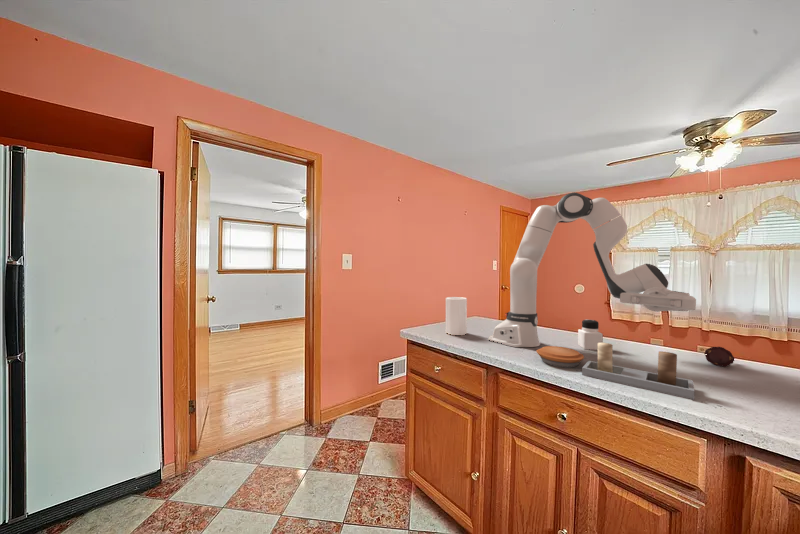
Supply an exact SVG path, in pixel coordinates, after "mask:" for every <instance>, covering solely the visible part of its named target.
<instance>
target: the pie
mask: <svg viewBox="0 0 800 534" xmlns="http://www.w3.org/2000/svg"><path fill="white" fill-rule="evenodd" d="M535 352H536V354H537V355H539V357H540V358H541V361H542V362H543V363H545V364H547V365H550V366H554V367H558V368H568V369H569V368H576V367H578V365H580V363H581V362H582V361H583V360H584V359H585V356H584V355H583V354H582V353H581V352H579V351H578V350H576V349H572V348H570V347H569V348H568V347H564V346H557V345H547V346H542V347H541V348H538V349H536V351H535Z"/></svg>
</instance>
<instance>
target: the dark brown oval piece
mask: <svg viewBox="0 0 800 534" xmlns="http://www.w3.org/2000/svg"><path fill="white" fill-rule="evenodd" d="M705 354H707V355H705ZM704 355H705V359H706V361H707V362H708V363H711V364H712V365H714V366H715V365H716V366H715V367H724V368H725V367H728V366H730V365H731V364H734V362H735V360H734V359H735V357H734V355H733V353H732V352H731V351H729V350H728V349H726V348H725V347H723V346H711V347H709V348H707V349H705V351H704Z"/></svg>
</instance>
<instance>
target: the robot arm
mask: <svg viewBox="0 0 800 534" xmlns="http://www.w3.org/2000/svg"><path fill="white" fill-rule="evenodd" d="M579 219H581V220H584V221H586V223H588V224H589V226H590V228H591V229H592V231H593V232H594V235H595V241H594V243H593V244H592V246H593V251H594V253H595V256H596V259H597V261H598V265H599V266H600V269H601V271H602V273H603V277H604V278H605V281H606V286H607V289H608V291H609V293H610V295H611V296H612V297H613V298H615V299H618V300H619V302H620V303H624V304H631V305H639V306H640V305H642V306H643V307H645V308H646V309H647V310H650V311H651V312H656V313H657V312H669V311H673V312H675V311H676V312H679V311H680V312H688V311H696V309H697V307H696V306H697V299H696V298H695V297H694V296H692V295H690V293H689V292H685V291H678V290H677V291H676V290H670V289H668V286H669V281H668V278H667V277H666V276H665V275H664V273H663V272H662V270H661V269H660V268H658V266H656V265H654V264H651V263H644V264H641V265H639V266H635V267H634V268H632V269H630V270H627V271H625V272H621V273H620V274H617V273H616V272H615V270H614V267H613V264H612V261H611V258H610V253H611V251H612V250H613V248H614V247H616V245H618V244H619V243H620V242H621V240H623V238H624V237H625V236H626V234H627V233H628V232H627V231H628V224H627V222H626V220H625V219H624V217H623V215H622V214H621V213H620V211H619V210H618V209H617V208H616V207H615V206H614V204H612V203H611V202H610V200H608V198H605V197H596V198H593V199H592V198H590V197H588V196H586V195H584V194H581V193H578V192H570V193H567V194H565V195H563V196H562V197H561V199H560V200H559V201H558V202H557V203H556V204H555V205H549V204H543V205H539V206H537V207H536V209H535V210H534V212H533V213H532V215H531V217H530V219H529V221H528V223H527V226H526V228H525V230H524V233H523V236H522V238H521V241H520V243H519V247H518V248H517V251H516V254H515V257H514V259H513V261H512V263H511V264H510V268H509V276H510V277H509V284H510V285H509V286H510V287H509V289H510V290H509V292H510V293H509V295H510V296H509V297H510V302H509V305H510V307H509V308H510V310H509V311H508V312H505V314H504V316H505V317H506V319H504V320H503V321H502V322H500V323H498V324H497V325H496V326H495V327H494V328H493V333H492V335H489V336H488V339H487V341H489V340H490V341H489V342H493V341H494V342H493V343H497V342H498V343H497V344H501V343H502V345H505V346H509V347H513V348H534V347H539V346H541V342H540V339H539V335H538V323H539V322H538V319H539V318H538V312H537V293H538V292H537V291H538V288H537V287H538V270H539V269H538V268H539V266H540V264H541V261H542V260H543V258H544V254H545V252H546V251H547V248H548V246H549V243H550V241H551V238H552V236H553V234H554V231H555V228H556V226H557V225H558V223H563V224H565V223H573V222H575V221H576V220H579Z"/></svg>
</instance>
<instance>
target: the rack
mask: <svg viewBox="0 0 800 534" xmlns="http://www.w3.org/2000/svg"><path fill="white" fill-rule="evenodd" d="M581 375H582V376H585V377H589V378H595V379H599V380H602V381H603V380H604V381H606V382H607V381H609V382H611V383H617V384H621V385H627V386H631V387H635V388H639V389H645V390H648V391H653V392H658V393H662V394H667V395H672V396H676V397H680V398H685V399H688V400H689V399H690V400H692V401H695V387H694V381H693V380H692V379H688V378H682V377H677V376H676V386H673V385H668V384H664V383H659V382H658V372H657V373H656V372H651V371H645V370H641V369H636V368H631V367H630V368H629V367H625V366H619V365H614V364H613V373H610V372H605V371H600V370H598V361H592V360H587V362H586V363H585V364H584V365H583V366H582V367H581Z"/></svg>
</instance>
